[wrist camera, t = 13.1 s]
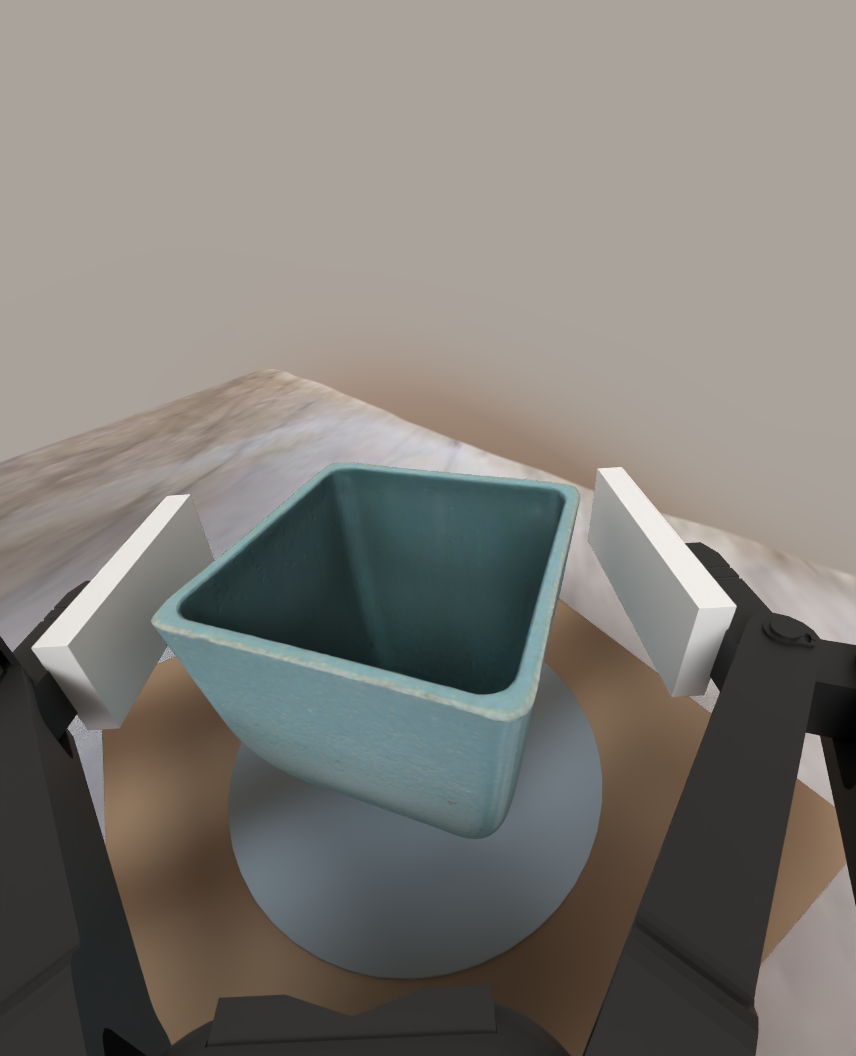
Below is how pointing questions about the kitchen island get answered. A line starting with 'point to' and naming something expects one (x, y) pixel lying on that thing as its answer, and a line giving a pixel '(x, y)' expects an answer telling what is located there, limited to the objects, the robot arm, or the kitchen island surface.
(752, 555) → the kitchen island surface
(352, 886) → the walnut plinth
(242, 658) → the flower pot
